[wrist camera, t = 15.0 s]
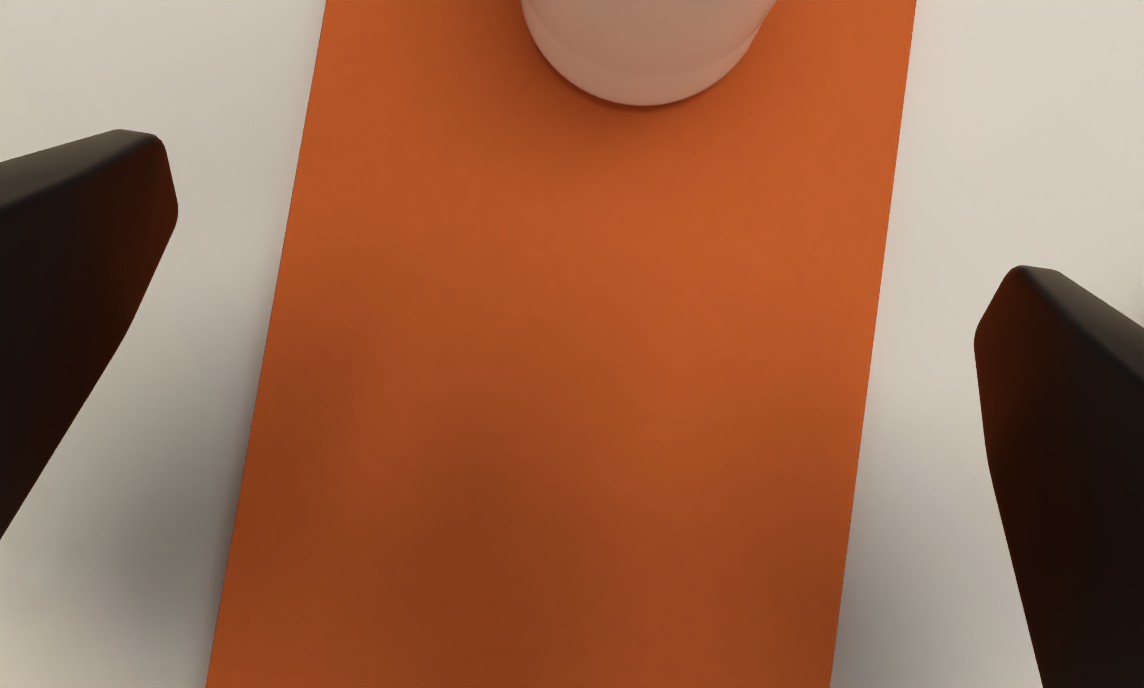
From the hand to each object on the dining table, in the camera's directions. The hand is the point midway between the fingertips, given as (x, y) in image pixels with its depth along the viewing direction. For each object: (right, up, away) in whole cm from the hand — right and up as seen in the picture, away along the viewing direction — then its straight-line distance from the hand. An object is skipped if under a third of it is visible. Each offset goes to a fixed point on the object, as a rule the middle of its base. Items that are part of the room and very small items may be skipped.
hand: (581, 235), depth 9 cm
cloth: (0, +1, +10) cm, 10 cm away
